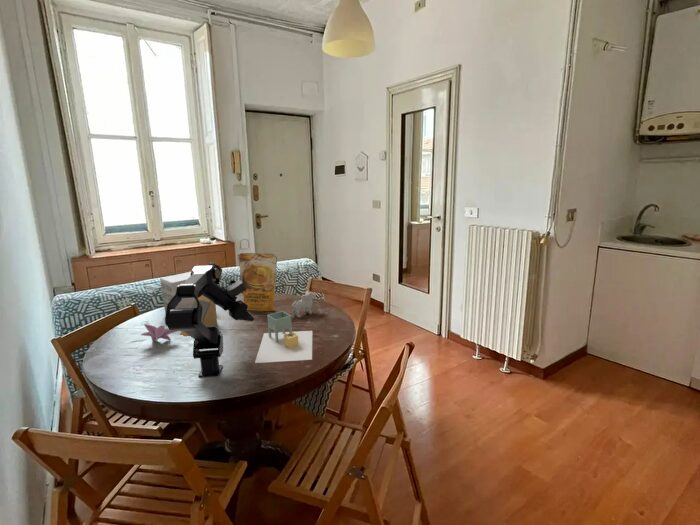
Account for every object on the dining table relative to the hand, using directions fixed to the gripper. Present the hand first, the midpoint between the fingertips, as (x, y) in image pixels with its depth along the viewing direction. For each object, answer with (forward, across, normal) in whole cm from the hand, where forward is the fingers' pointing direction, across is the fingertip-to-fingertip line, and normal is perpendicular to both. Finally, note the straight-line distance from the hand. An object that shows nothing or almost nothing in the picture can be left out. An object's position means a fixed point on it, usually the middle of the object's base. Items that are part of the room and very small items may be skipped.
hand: (248, 316), depth 135 cm
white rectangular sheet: (+18, -5, +1) cm, 19 cm away
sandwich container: (+2, +33, +18) cm, 37 cm away
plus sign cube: (+19, -6, 0) cm, 20 cm away
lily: (-10, +26, +29) cm, 40 cm away
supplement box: (+2, +58, +17) cm, 61 cm away
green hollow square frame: (+18, +3, 0) cm, 19 cm away
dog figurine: (+34, +21, -14) cm, 42 cm away
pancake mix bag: (+23, +40, -4) cm, 46 cm away
